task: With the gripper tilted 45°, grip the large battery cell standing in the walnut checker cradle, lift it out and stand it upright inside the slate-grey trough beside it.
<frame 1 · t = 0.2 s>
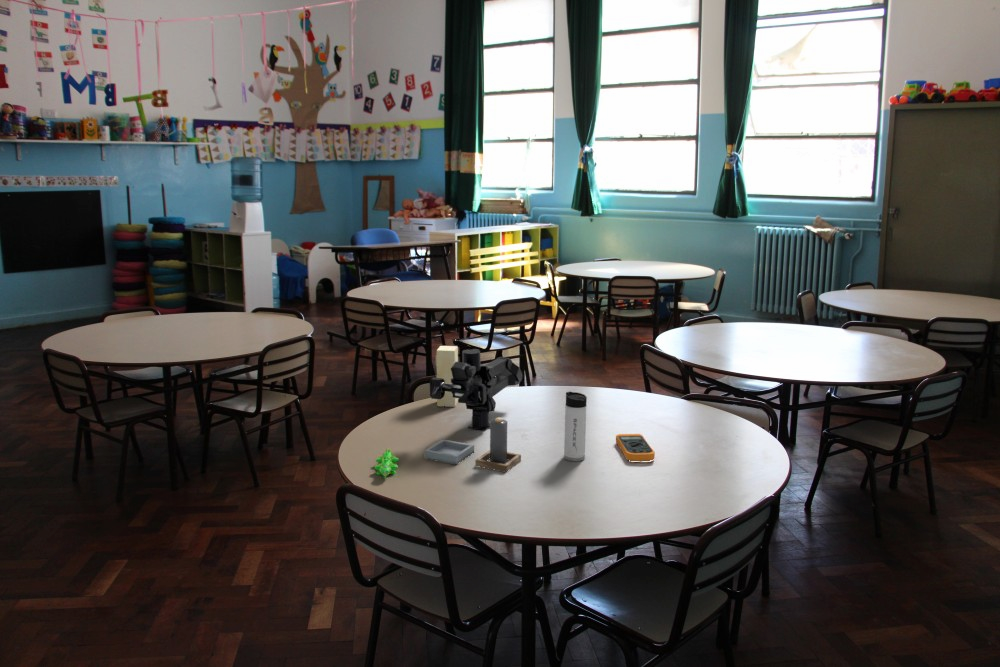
hand: (445, 399, 238), 17 cm above the table, tool horizontal, fingers open, 9 cm apart
battery cell: (498, 441, 230), in the checker cradle
crocodile figurine: (386, 470, 227), on the table
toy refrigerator: (446, 404, 289), on the table
travel mug: (573, 458, 237), on the table
multimeter: (634, 454, 242), on the table
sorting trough: (449, 455, 238), on the table
checker cradle: (498, 463, 232), on the table
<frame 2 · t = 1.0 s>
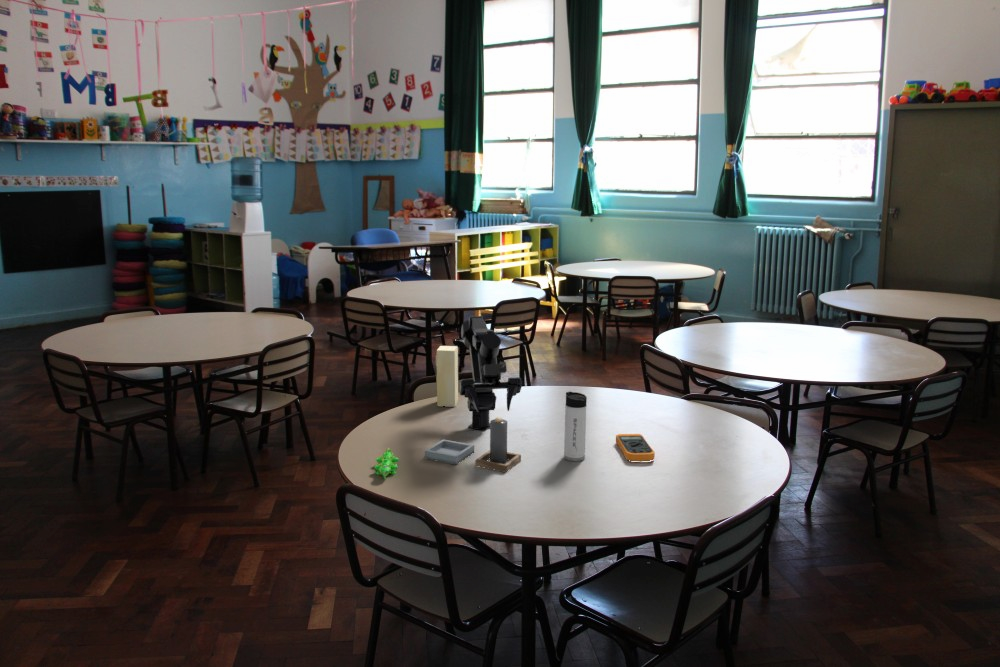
hand: (493, 410, 236), 14 cm above the table, tool tilted 45°, fingers open, 9 cm apart
nothing on the table moved.
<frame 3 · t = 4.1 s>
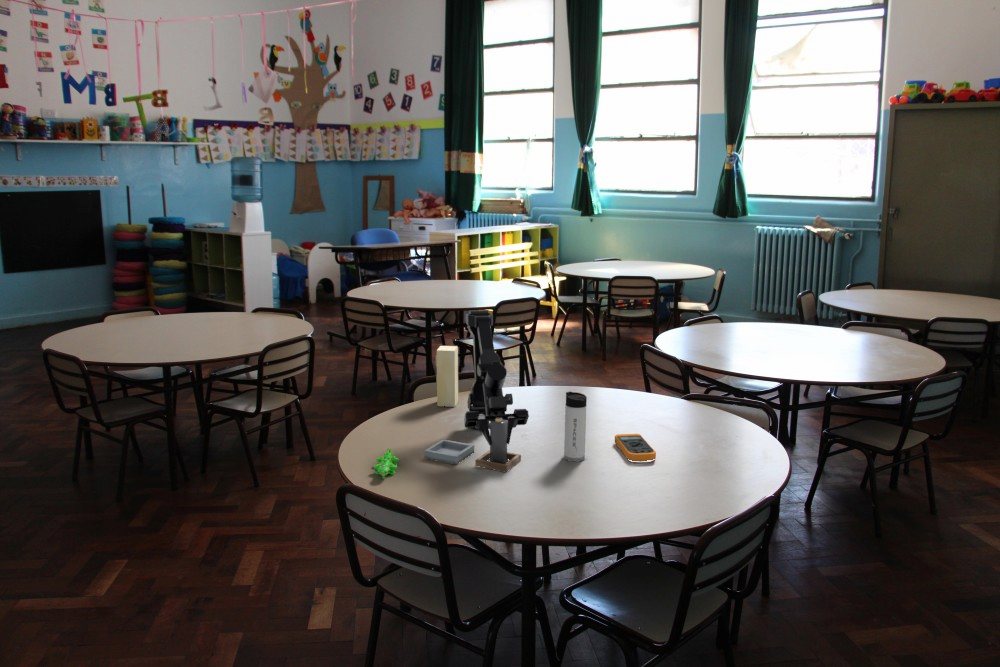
hand: (499, 444, 229), 7 cm above the table, tool tilted 45°, fingers closed on battery cell, 5 cm apart
battery cell: (498, 441, 230), in the checker cradle, touching gripper
everything else where it was.
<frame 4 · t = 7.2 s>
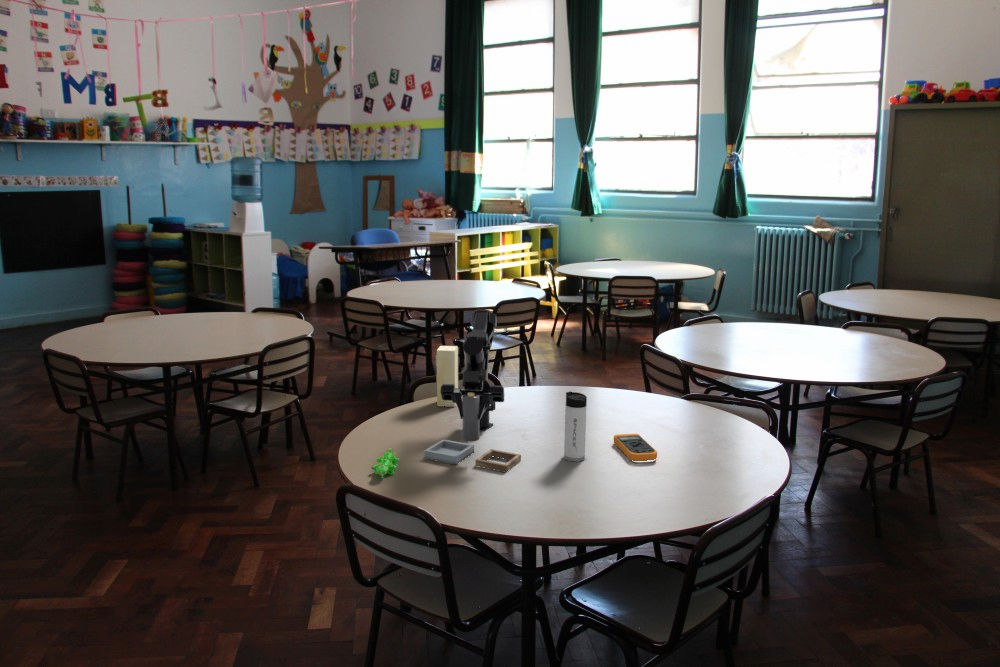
hand: (470, 418, 230), 13 cm above the table, tool tilted 45°, fingers closed on battery cell, 5 cm apart
battery cell: (471, 415, 231), point 14 cm above the table, touching gripper
everything else where it was.
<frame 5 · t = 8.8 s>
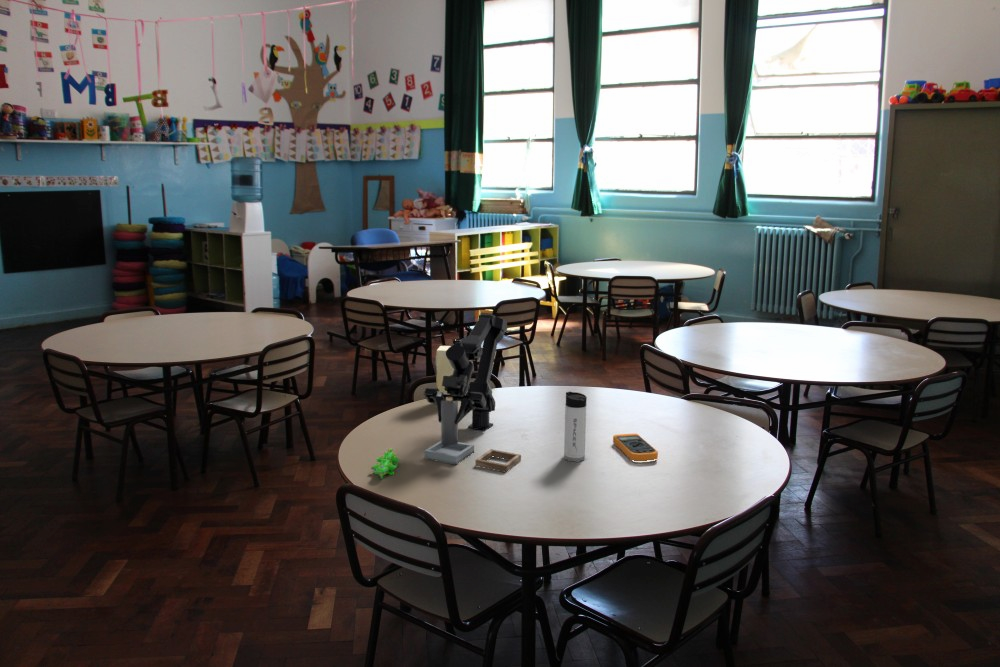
hand: (447, 422, 234), 11 cm above the table, tool tilted 45°, fingers closed on battery cell, 5 cm apart
battery cell: (449, 420, 236), point 11 cm above the table, touching gripper
everything else where it was.
when the fingers open (8 cm above the table, at t = 10.1 s): battery cell drops 1 cm, resting on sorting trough.
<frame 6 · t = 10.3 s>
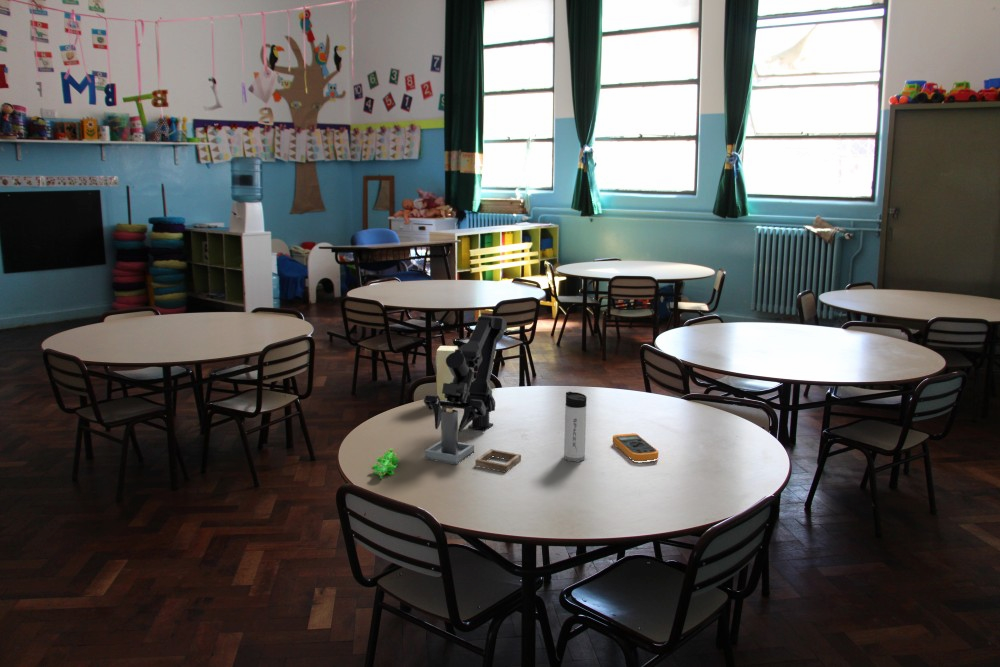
hand: (447, 430, 235), 9 cm above the table, tool tilted 45°, fingers open, 7 cm apart
battery cell: (449, 431, 236), in the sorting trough, point 8 cm above the table
everything else where it was.
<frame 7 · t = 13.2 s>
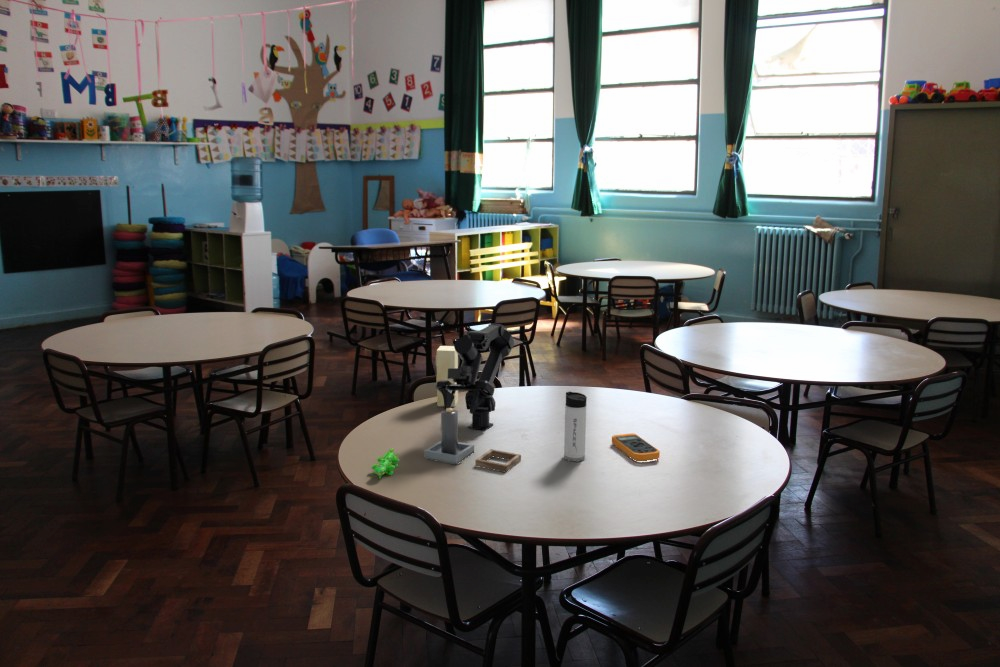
hand: (458, 412, 243), 11 cm above the table, tool tilted 40°, fingers open, 9 cm apart
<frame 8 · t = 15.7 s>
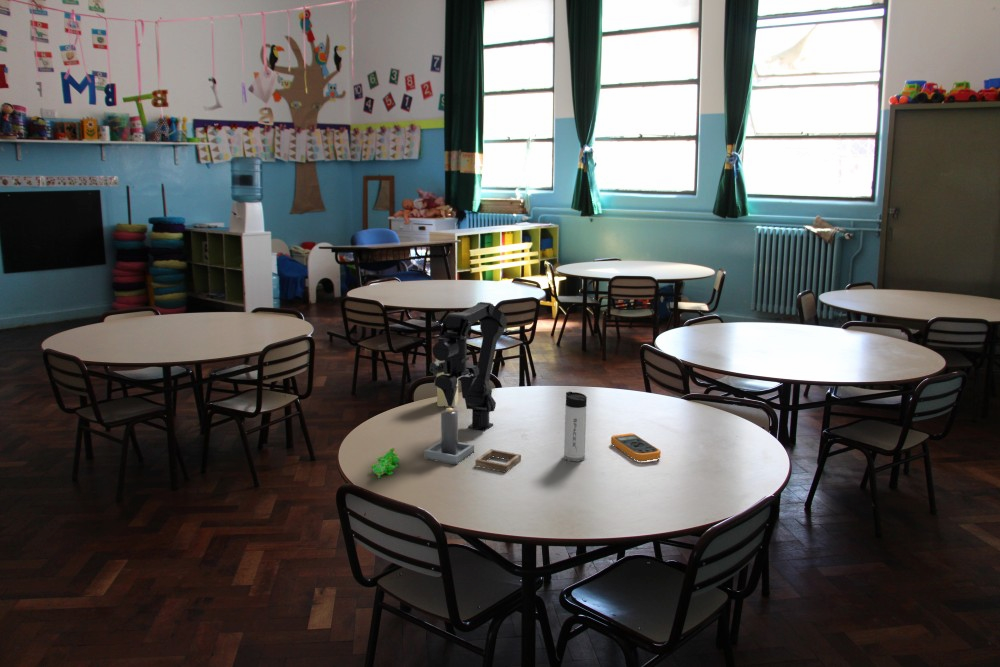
hand: (457, 402, 247), 13 cm above the table, tool pointing down, fingers open, 9 cm apart
at the end: battery cell inside the target area on the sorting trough (0.0 cm from its centre), point 7.8 cm above the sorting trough's base; battery cell tilted 0°; the gripper is holding nothing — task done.
